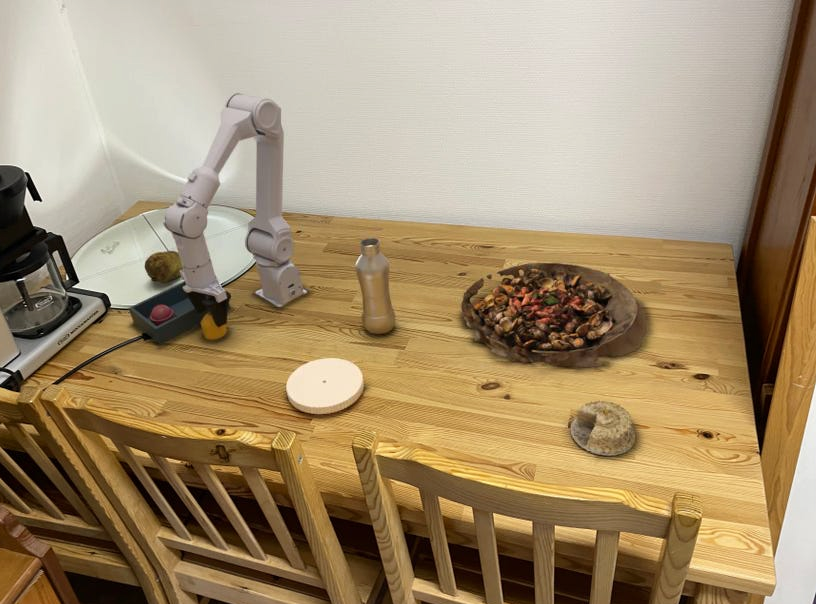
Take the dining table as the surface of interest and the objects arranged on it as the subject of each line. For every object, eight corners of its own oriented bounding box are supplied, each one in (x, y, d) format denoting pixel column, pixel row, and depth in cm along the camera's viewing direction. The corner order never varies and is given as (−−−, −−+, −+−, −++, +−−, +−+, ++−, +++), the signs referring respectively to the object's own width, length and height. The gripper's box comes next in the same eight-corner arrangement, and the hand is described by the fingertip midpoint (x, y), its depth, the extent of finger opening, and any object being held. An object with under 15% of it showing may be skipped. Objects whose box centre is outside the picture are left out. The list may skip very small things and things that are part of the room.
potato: (200, 267, 178) (192, 238, 173) (167, 294, 169) (158, 265, 164) (173, 262, 181) (165, 234, 177) (140, 289, 172) (130, 260, 168)
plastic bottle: (394, 338, 144) (384, 250, 133) (360, 338, 145) (348, 250, 134) (398, 320, 149) (390, 233, 138) (366, 319, 150) (355, 234, 139)
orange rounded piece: (231, 333, 152) (225, 311, 149) (212, 344, 150) (205, 321, 146) (219, 325, 155) (213, 303, 152) (200, 335, 153) (193, 313, 150)
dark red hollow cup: (180, 324, 156) (175, 305, 153) (160, 335, 154) (154, 315, 151) (169, 316, 159) (163, 297, 157) (149, 326, 157) (143, 307, 154)
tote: (230, 310, 160) (226, 292, 157) (161, 347, 151) (155, 329, 148) (201, 291, 168) (197, 274, 165) (134, 325, 159) (128, 307, 157)
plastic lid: (340, 426, 124) (338, 415, 123) (273, 406, 131) (271, 396, 129) (377, 378, 134) (376, 367, 133) (313, 361, 141) (311, 351, 139)
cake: (616, 410, 121) (622, 385, 118) (646, 452, 112) (653, 426, 109) (559, 418, 120) (564, 393, 117) (585, 461, 111) (590, 435, 108)
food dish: (440, 357, 139) (436, 323, 134) (488, 272, 163) (486, 241, 159) (635, 386, 124) (638, 349, 120) (656, 288, 148) (659, 254, 144)
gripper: (160, 258, 146) (178, 313, 153) (197, 281, 136) (214, 340, 143) (190, 244, 149) (206, 299, 157) (229, 266, 139) (243, 324, 147)
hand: (212, 317), depth 150 cm, fingers open, 7 cm apart
